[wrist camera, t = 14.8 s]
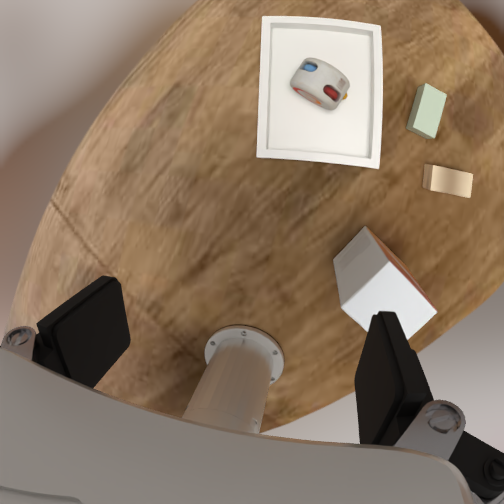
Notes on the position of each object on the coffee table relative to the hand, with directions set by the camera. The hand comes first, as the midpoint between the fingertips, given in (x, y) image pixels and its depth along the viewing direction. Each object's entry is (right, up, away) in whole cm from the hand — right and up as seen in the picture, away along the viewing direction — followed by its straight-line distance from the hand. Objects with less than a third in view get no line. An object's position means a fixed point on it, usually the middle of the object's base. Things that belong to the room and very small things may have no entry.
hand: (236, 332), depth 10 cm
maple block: (+25, +12, +22) cm, 35 cm away
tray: (+9, +22, +21) cm, 32 cm away
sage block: (+21, +20, +19) cm, 35 cm away
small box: (+16, +2, +27) cm, 31 cm away
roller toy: (+8, +22, +21) cm, 31 cm away
